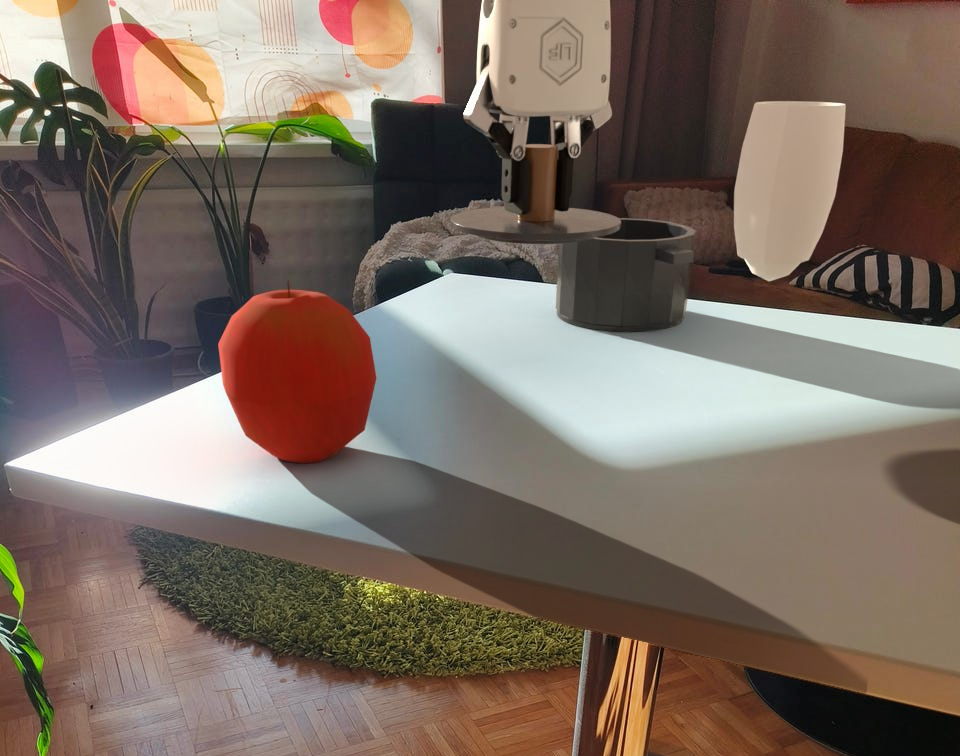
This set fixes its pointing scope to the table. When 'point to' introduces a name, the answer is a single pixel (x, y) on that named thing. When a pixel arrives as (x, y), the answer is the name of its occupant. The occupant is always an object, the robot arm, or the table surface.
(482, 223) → the lid
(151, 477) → the table surface
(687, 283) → the pot
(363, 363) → the apple
